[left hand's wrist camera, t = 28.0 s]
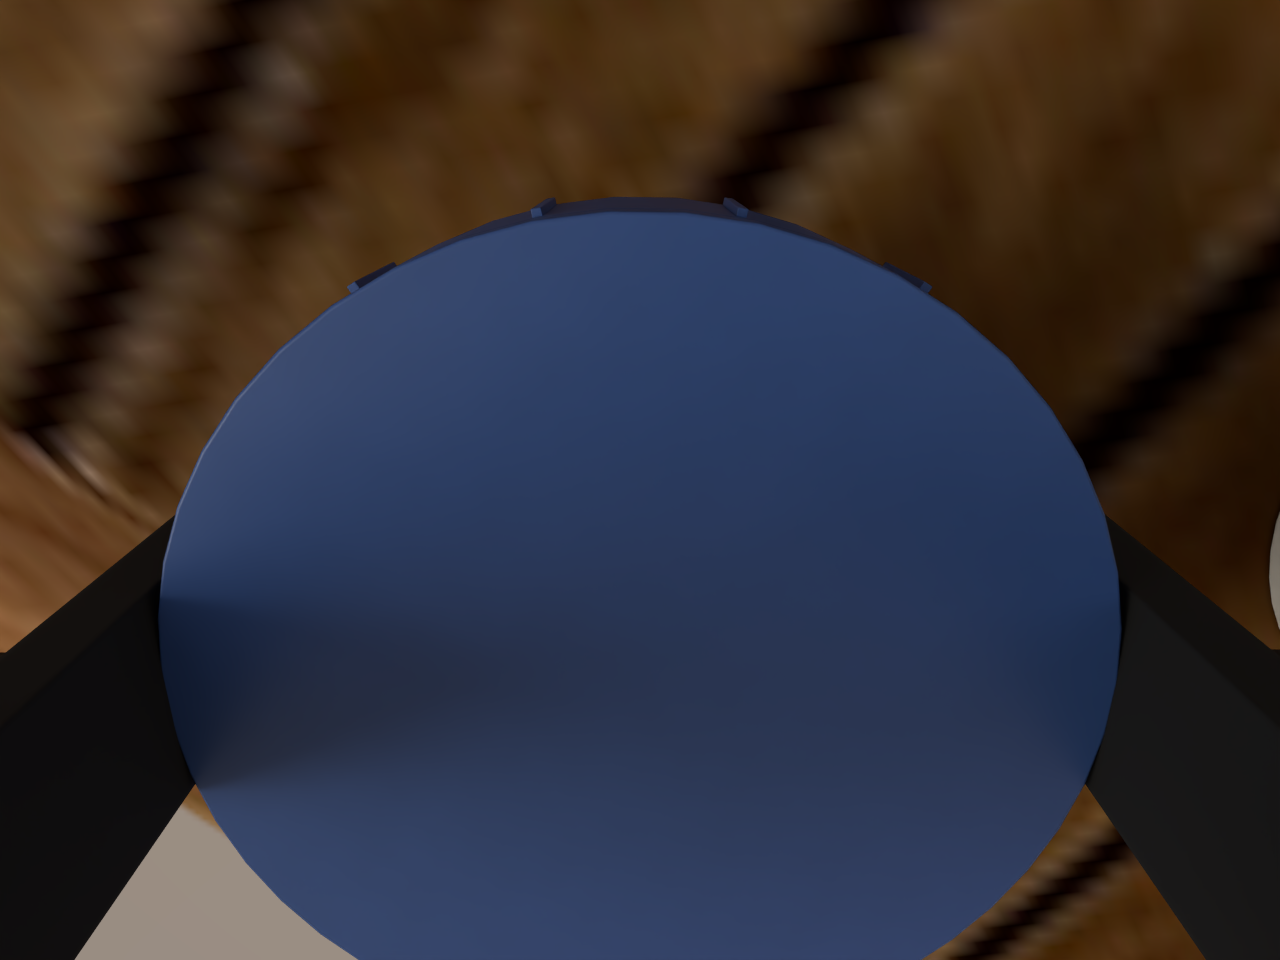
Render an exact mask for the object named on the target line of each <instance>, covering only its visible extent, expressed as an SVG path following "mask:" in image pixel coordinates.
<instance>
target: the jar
mask: <svg viewBox="0 0 1280 960" xmlns="http://www.w3.org/2000/svg"><path fill="white" fill-rule="evenodd" d="M1269 581H1270V590H1271V600H1272V605H1273V609H1274V612H1275V616H1276V619H1277V623H1278V626H1279V629H1280V512H1279V515H1278V518H1277V521H1276V525H1275V530H1274V535H1273V540H1272V545H1271V550H1270V569H1269Z"/></svg>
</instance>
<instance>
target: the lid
mask: <svg viewBox="0 0 1280 960" xmlns="http://www.w3.org/2000/svg"><path fill="white" fill-rule="evenodd" d="M347 288H348V289H349V291H350V292H351V294H350V295H348V296H346V297H345V298H343V299H341V300H340V301H338V302H336V303H335V304H333V305H331V306H330V307H329V308H328V309H327V310H325V311H324V312H323V313H322V314H321V315H319V316H318V317H317V318H316V319H315V320H313V321H312V322H311V323H310V324H309V325H307V326H306V327H305V328H304V329H303V330H301V331H300V332H299V333H298V334H297V335H295V336H294V337H293V338H292V339H291V340H289V341H288V342H287V343H286V344H285V345H283V346H282V347H281V348H280V349H279V350H278V351H277V352H276V353H275V354H274V355H273V356H272V358H271V359H270V360H269V361H268V362H267V363H266V364H265V365H264V367H263V368H262V369H261V370H260V371H259V372H258V373H257V374H256V376H255V377H254V378H253V379H252V380H251V381H250V382H249V383H248V385H247V386H246V387H245V388H244V389H243V390H242V391H241V393H240V394H239V395H238V396H237V397H236V398H235V400H234V401H233V403H232V404H231V406H230V408H229V409H228V411H227V412H226V413H225V415H224V417H223V419H222V420H221V422H220V423H219V425H218V426H217V428H216V429H215V431H214V433H213V434H212V436H211V437H210V439H209V440H208V442H207V443H206V445H205V447H204V448H203V450H202V452H201V454H200V456H199V458H198V461H197V463H196V465H195V468H194V470H193V472H192V474H191V477H190V479H189V481H188V483H187V486H186V488H185V490H184V493H183V495H182V497H181V499H180V502H179V504H178V507H177V511H176V515H175V518H174V522H173V526H172V530H171V534H170V538H169V542H168V545H167V549H166V553H165V557H164V561H163V570H162V580H161V591H160V601H159V612H158V630H159V646H160V662H161V667H162V672H163V677H164V681H165V686H166V690H167V695H168V699H169V704H170V708H171V713H172V717H173V722H174V726H175V730H176V733H177V737H178V741H179V745H180V747H181V750H182V753H183V755H184V758H185V761H186V763H187V766H188V769H189V771H190V774H191V776H192V778H193V780H194V782H195V784H196V785H197V787H198V789H199V791H200V793H201V795H202V796H203V798H204V800H205V802H206V804H207V806H208V808H209V809H210V811H211V813H212V815H213V817H214V819H215V821H216V822H217V823H218V825H219V826H220V828H221V829H222V830H223V832H224V833H225V834H226V836H227V837H228V839H229V840H230V841H231V843H232V844H233V845H234V847H235V848H236V850H237V851H238V852H239V854H240V855H241V857H242V858H243V859H244V861H245V862H246V863H247V864H248V865H249V867H250V868H251V869H252V870H253V871H254V872H255V873H256V874H257V875H258V876H259V877H260V878H261V879H262V881H263V882H264V883H265V884H266V885H267V886H268V887H269V888H270V889H271V890H272V891H273V892H274V893H275V894H276V896H277V897H278V898H279V899H280V900H281V901H282V902H284V903H285V904H286V905H287V906H288V907H289V908H290V909H292V910H293V911H294V912H295V913H296V914H297V915H299V916H300V917H301V918H302V919H303V920H305V921H306V922H307V923H308V924H309V925H310V926H312V927H313V928H314V929H315V930H316V931H318V932H319V933H320V934H321V935H323V936H324V937H326V938H327V939H329V940H330V941H331V942H333V943H334V944H336V945H337V946H339V947H340V948H342V949H343V950H345V951H346V952H348V953H349V954H351V955H352V956H354V957H355V958H357V959H358V960H922V959H923V958H925V957H926V956H928V955H929V954H931V953H932V952H934V951H935V950H937V949H939V948H940V947H942V946H943V945H945V944H946V943H948V942H949V941H951V940H952V939H954V938H955V937H956V936H957V935H958V934H960V933H961V932H962V931H963V930H965V929H966V928H967V927H968V926H969V925H971V924H972V923H973V922H974V921H976V920H977V919H978V918H979V917H981V916H982V915H983V914H984V913H985V912H987V911H988V910H989V909H990V908H992V907H993V906H994V904H995V903H996V902H997V901H998V900H999V899H1000V898H1001V897H1002V896H1003V895H1004V894H1005V893H1006V892H1007V891H1008V890H1009V889H1010V888H1011V887H1012V886H1013V885H1014V884H1015V883H1016V882H1017V881H1018V880H1019V879H1020V878H1021V877H1022V876H1023V875H1024V874H1025V873H1026V872H1027V871H1028V869H1029V868H1030V867H1031V865H1032V864H1033V863H1034V861H1035V860H1036V859H1037V857H1038V856H1039V855H1040V853H1041V852H1042V851H1043V849H1044V848H1045V847H1046V846H1047V844H1048V843H1049V842H1050V840H1051V839H1052V838H1053V836H1054V835H1055V834H1056V832H1057V831H1058V830H1059V828H1060V826H1061V825H1062V823H1063V821H1064V819H1065V818H1066V816H1067V814H1068V812H1069V811H1070V809H1071V807H1072V805H1073V804H1074V802H1075V800H1076V798H1077V797H1078V795H1079V793H1080V791H1081V790H1082V788H1083V786H1084V784H1085V782H1086V780H1087V777H1088V775H1089V772H1090V770H1091V767H1092V765H1093V762H1094V760H1095V757H1096V755H1097V752H1098V750H1099V747H1100V745H1101V742H1102V740H1103V737H1104V733H1105V729H1106V725H1107V720H1108V716H1109V712H1110V707H1111V703H1112V699H1113V694H1114V690H1115V686H1116V681H1117V676H1118V667H1119V656H1120V644H1121V633H1122V624H1121V609H1120V594H1119V580H1118V570H1117V566H1116V562H1115V557H1114V553H1113V548H1112V544H1111V540H1110V535H1109V531H1108V527H1107V522H1106V518H1105V515H1104V512H1103V510H1102V507H1101V505H1100V502H1099V500H1098V497H1097V495H1096V492H1095V490H1094V487H1093V485H1092V483H1091V480H1090V478H1089V475H1088V473H1087V470H1086V468H1085V465H1084V463H1083V460H1082V459H1081V457H1080V455H1079V454H1078V452H1077V450H1076V449H1075V447H1074V445H1073V444H1072V442H1071V440H1070V439H1069V437H1068V436H1067V434H1066V432H1065V431H1064V429H1063V427H1062V426H1061V424H1060V422H1059V421H1058V419H1057V417H1056V416H1055V414H1054V412H1053V411H1052V409H1051V407H1050V406H1049V405H1048V404H1047V403H1046V401H1045V400H1044V399H1043V398H1042V397H1041V395H1040V394H1039V393H1038V392H1037V391H1036V389H1035V388H1034V387H1033V386H1032V385H1031V384H1030V382H1029V381H1028V380H1027V379H1026V378H1025V376H1024V375H1023V374H1022V373H1021V372H1020V370H1019V369H1018V368H1017V367H1016V366H1015V365H1014V363H1013V362H1012V361H1011V360H1010V359H1009V357H1008V356H1006V355H1005V354H1004V353H1003V352H1002V351H1001V350H1000V349H998V348H997V347H996V346H995V345H994V344H993V343H992V342H990V341H989V340H988V339H987V338H986V337H985V336H984V335H982V334H981V333H980V332H979V331H978V330H977V329H976V328H974V327H973V326H972V325H971V324H970V323H969V322H968V321H966V320H965V319H964V318H963V317H962V316H961V315H960V314H958V313H957V312H956V311H954V310H953V309H951V308H949V307H948V306H946V305H945V304H943V303H942V302H940V301H939V300H937V299H935V298H934V297H932V296H931V295H929V294H928V292H929V291H930V290H931V288H932V286H931V285H929V284H928V283H926V282H924V281H923V280H921V279H919V278H917V277H915V276H913V275H911V274H909V273H907V272H905V271H903V270H901V269H899V268H897V267H895V266H893V265H891V264H889V263H887V262H885V264H884V265H883V266H881V265H879V264H877V263H876V262H874V261H872V260H870V259H868V258H866V257H864V256H862V255H861V254H859V253H857V252H855V251H853V250H851V249H849V248H847V247H845V246H843V245H840V244H838V243H836V242H834V241H832V240H829V239H827V238H825V237H823V236H821V235H818V234H816V233H814V232H812V231H810V230H807V229H805V228H803V227H801V226H799V225H796V224H793V223H790V222H787V221H783V220H780V219H776V218H773V217H770V216H766V215H763V214H759V213H756V212H753V211H749V210H748V209H747V208H745V207H744V206H742V205H741V204H740V203H738V202H737V201H735V200H734V199H730V198H724V202H723V205H721V204H714V203H708V202H701V201H694V200H688V199H681V198H651V197H611V198H603V199H595V200H587V201H579V202H571V203H563V204H556V200H555V198H549V199H546V200H544V201H543V202H541V203H540V204H538V205H537V206H535V207H534V208H532V209H531V211H528V212H524V213H520V214H517V215H513V216H509V217H505V218H502V219H498V220H494V221H492V222H489V223H487V224H485V225H482V226H480V227H478V228H475V229H473V230H471V231H468V232H466V233H463V234H461V235H459V236H456V237H454V238H452V239H449V240H447V241H445V242H442V243H440V244H438V245H436V246H434V247H432V248H430V249H428V250H426V251H424V252H423V253H421V254H419V255H417V256H415V257H413V258H411V259H409V260H407V261H406V262H404V263H402V264H400V265H398V266H397V265H396V264H395V263H394V262H393V263H391V264H389V265H387V266H385V267H383V268H381V269H379V270H377V271H375V272H373V273H371V274H369V275H367V276H365V277H363V278H361V279H359V280H357V281H355V282H353V283H352V284H350V285H349V286H348V287H347Z"/></svg>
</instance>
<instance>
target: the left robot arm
mask: <svg viewBox="0 0 1280 960" xmlns="http://www.w3.org/2000/svg"><path fill="white" fill-rule="evenodd" d="M1104 515H1105V514H1104ZM174 518H175V515H174V516H173V517H172V518H171V519H170V520H168V521H167V522H166V523H165V524H163V525H162V526H161V527H160V528H158V529H157V530H156V531H155V532H154V533H152V534H151V535H150V536H149V537H147V538H146V539H145V540H144V541H142V542H141V543H140V544H139V545H138V546H136V547H135V548H134V549H133V550H131V551H130V552H129V553H128V554H126V555H125V556H124V557H123V558H122V559H120V560H119V561H118V562H117V563H115V564H114V565H113V566H112V567H111V568H109V569H108V570H107V571H106V572H104V573H103V574H102V575H101V576H99V577H98V578H97V579H96V580H95V581H93V582H92V583H91V584H90V585H88V586H87V587H86V588H85V589H83V590H82V591H81V592H80V593H79V594H77V595H76V596H75V597H74V598H72V599H71V600H70V601H69V602H67V603H66V604H65V605H64V606H63V607H61V608H60V609H59V610H58V611H56V612H55V613H54V614H53V615H51V616H50V617H49V618H48V619H47V620H45V621H44V622H43V623H42V624H40V625H39V626H38V627H37V628H35V629H34V630H33V631H32V632H31V633H29V634H28V635H27V636H26V637H24V638H23V639H22V640H21V641H19V642H18V643H17V644H16V645H15V646H13V647H12V648H11V649H10V650H8V651H7V652H6V653H0V960H75V958H76V957H77V955H78V954H79V952H80V951H81V949H82V948H83V946H84V945H85V943H86V942H87V941H88V939H89V938H90V936H91V935H92V933H93V932H94V930H95V929H96V927H97V926H98V925H99V923H100V922H101V920H102V919H103V917H104V916H105V914H106V913H107V911H108V910H109V909H110V907H111V906H112V904H113V903H114V901H115V900H116V898H117V897H118V896H119V894H120V893H121V891H122V890H123V888H124V887H125V885H126V884H127V882H128V881H129V879H130V878H131V877H132V875H133V874H134V872H135V871H136V869H137V868H138V866H139V865H140V863H141V862H142V861H143V859H144V858H145V856H146V855H147V853H148V852H149V850H150V849H151V847H152V846H153V845H154V843H155V842H156V840H157V839H158V837H159V836H160V834H161V833H162V832H163V830H164V829H165V827H166V826H167V824H168V823H169V821H170V820H171V818H172V817H173V815H174V814H175V813H176V811H177V810H178V808H179V807H180V805H181V804H182V802H183V801H184V800H185V798H186V797H187V795H188V794H189V792H190V791H191V789H192V788H193V786H194V785H195V782H194V780H193V778H192V776H191V774H190V771H189V769H188V766H187V763H186V761H185V758H184V755H183V753H182V750H181V747H180V745H179V741H178V737H177V733H176V730H175V726H174V722H173V717H172V713H171V708H170V704H169V699H168V695H167V690H166V686H165V681H164V677H163V672H162V667H161V662H160V646H159V630H158V612H159V601H160V591H161V580H162V570H163V561H164V557H165V553H166V549H167V545H168V542H169V538H170V534H171V530H172V526H173V522H174ZM1105 518H1106V522H1107V527H1108V531H1109V535H1110V540H1111V544H1112V548H1113V553H1114V557H1115V562H1116V566H1117V570H1118V580H1119V594H1120V609H1121V624H1122V633H1121V644H1120V656H1119V667H1118V676H1117V681H1116V686H1115V690H1114V694H1113V699H1112V703H1111V707H1110V712H1109V716H1108V720H1107V725H1106V729H1105V733H1104V737H1103V740H1102V742H1101V745H1100V747H1099V750H1098V752H1097V755H1096V757H1095V760H1094V762H1093V765H1092V767H1091V770H1090V772H1089V775H1088V777H1087V780H1086V782H1085V784H1086V786H1087V787H1088V788H1089V790H1090V791H1091V793H1092V794H1093V796H1094V797H1095V799H1096V800H1097V802H1098V803H1099V804H1100V806H1101V807H1102V809H1103V810H1104V812H1105V813H1106V815H1107V816H1108V818H1109V819H1110V820H1111V822H1112V823H1113V825H1114V826H1115V828H1116V829H1117V831H1118V832H1119V834H1120V835H1121V836H1122V838H1123V839H1124V841H1125V842H1126V844H1127V845H1128V847H1129V848H1130V850H1131V851H1132V852H1133V854H1134V855H1135V857H1136V858H1137V860H1138V861H1139V863H1140V864H1141V866H1142V867H1143V868H1144V870H1145V871H1146V873H1147V874H1148V876H1149V877H1150V879H1151V880H1152V882H1153V883H1154V884H1155V886H1156V887H1157V889H1158V890H1159V892H1160V893H1161V895H1162V896H1163V898H1164V899H1165V900H1166V902H1167V903H1168V905H1169V906H1170V908H1171V909H1172V911H1173V912H1174V914H1175V915H1176V916H1177V918H1178V919H1179V921H1180V922H1181V924H1182V925H1183V927H1184V928H1185V930H1186V931H1187V932H1188V934H1189V935H1190V937H1191V938H1192V940H1193V941H1194V943H1195V944H1196V946H1197V947H1198V948H1199V950H1200V951H1201V953H1202V954H1203V956H1204V957H1205V959H1206V960H1280V650H1271V649H1270V648H1269V647H1267V646H1266V645H1265V644H1264V643H1262V642H1261V641H1260V640H1259V639H1257V638H1256V637H1255V636H1254V635H1253V634H1251V633H1250V632H1249V631H1248V630H1246V629H1245V628H1244V627H1243V626H1241V625H1240V624H1239V623H1238V622H1237V621H1235V620H1234V619H1233V618H1232V617H1230V616H1229V615H1228V614H1227V613H1225V612H1224V611H1223V610H1222V609H1221V608H1219V607H1218V606H1217V605H1216V604H1214V603H1213V602H1212V601H1211V600H1210V599H1208V598H1207V597H1206V596H1205V595H1203V594H1202V593H1201V592H1200V591H1198V590H1197V589H1196V588H1195V587H1194V586H1192V585H1191V584H1190V583H1189V582H1187V581H1186V580H1185V579H1184V578H1182V577H1181V576H1180V575H1179V574H1178V573H1176V572H1175V571H1174V570H1173V569H1171V568H1170V567H1169V566H1168V565H1166V564H1165V563H1164V562H1163V561H1162V560H1160V559H1159V558H1158V557H1157V556H1155V555H1154V554H1153V553H1152V552H1150V551H1149V550H1148V549H1147V548H1146V547H1144V546H1143V545H1142V544H1141V543H1139V542H1138V541H1137V540H1136V539H1134V538H1133V537H1132V536H1131V535H1130V534H1128V533H1127V532H1126V531H1125V530H1123V529H1122V528H1121V527H1120V526H1118V525H1117V524H1116V523H1115V522H1114V521H1112V520H1111V519H1110V518H1109V517H1107V516H1106V515H1105Z"/></svg>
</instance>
